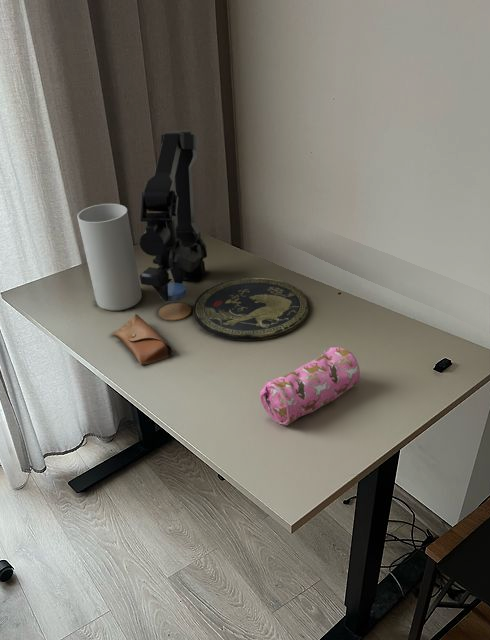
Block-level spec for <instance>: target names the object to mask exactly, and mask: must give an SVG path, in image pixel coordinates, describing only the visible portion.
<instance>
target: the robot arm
mask: <svg viewBox="0 0 490 640" xmlns="http://www.w3.org/2000/svg"><path fill="white" fill-rule="evenodd" d="M160 143H161V146H160V150H159V153H158V154H159V155H158V159H157V163H156V167H155V171H154V175H153V176H152V177H151V178H150V179H148V180H147V181H146V184H145V187H144V189H143V191H142V193H141V199H140V201H141V204H140V222H143V223H144V222H146V224H147V225H146V226H145V230H144V232H143V233H142V234H141V237H140V238H139V247H140V249H141V250H142V251H143V253H145V254H146V255H147V256H148V255H149V256H151V257H154V258H153V259H152V264H154V265H157V266H158V267H151V266H148V267H147V268H146V269H145V270H144V271H143V272H142V273H141V274H140V275H139V282H140V285H145V286H151V287H152V288H153V289H154V290H155V292H156V293H157V295H158V296H159V295H160V296H159V298H160V297H161V298H160V299H162V301H163V302H166V303H167V302H169V301H168V283H171V281H172V280H173V281H174V282H173V283H181V284H183V282H184V281H187V282H193V283H199V281H201V279H202V278H204V277H205V275H206V274H207V272H208V271H207V270H206V265H205V264H206V263H205V260H204V259H206V258H207V257H208V252H207V245H206V243H205V241H204V239H203V238H202V236H201V231H200V229H199V227H198V226H197V225H196V223H195V214H194V212H195V211H194V192H193V191H194V190H193V189H194V188H193V169H192V168H193V167H192V166H193V165H194V162H195V161H196V159H197V156H198V150H199V147H200V146H199V145H200V140H199V136H198V135H197V134H195V132H194V130H170V131H169V132H164V133H162V134H161V136H160ZM175 217H176V218H175ZM175 219H176V220H177V221H175ZM176 222H177V225H176ZM169 272H170V274H171V276H172V278H170V275H169Z"/></svg>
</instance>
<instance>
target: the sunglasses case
mask: <svg viewBox="0 0 490 640" xmlns="http://www.w3.org/2000/svg"><path fill="white" fill-rule="evenodd" d="M112 335H113V336H114V337H115V338H117V339H118V340H119V341H120V342H121V343H122V344H123V345H124V346H125V347H126V348H127V350H128V351H129V352H130V353H131V354H132V355H133V357H134V358H135V359H136V361H137V362H138V364H139V365H140V366H141V365H142V366H146V365H150V364H154V363H157V362H160V361H162V360H163V361H164V360H165V359H168V358H169V357H170V356H171V355H172V353H173V349H172V347H171V346H170V345H169V344H168V342H167V341H166V340H165V339H164V337H162V336H161V335H160V334H159V333H158V332H157V331H156V330H155V329H154V328H153V327H152V326H151V325H150V324H149V323H148V322H147V321H145V319H143V318H142V317H141V316H139V315H138V314H137V313H135V314H134V316H133V317H132V318H131V319H129V320H128V321H127V322H126V323H125V324H124V325H122V326H121V327H120V328H119V329H118V330H117V331H116V332H114V333H112Z"/></svg>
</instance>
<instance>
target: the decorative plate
mask: <svg viewBox="0 0 490 640" xmlns="http://www.w3.org/2000/svg"><path fill="white" fill-rule="evenodd" d="M308 314H309V303H308V299H307V297H306V296H305V294H304V293H303V292H302V291H301V290H300V289H298V287H296V286H293V285H291V284H290V283H287V282H284V281H282V280H278V279H272V278H264V277H246V278H237V279H232V280H228V281H224V282H220V283H217V284H215V285H213V286H211V287H209V288H208V289H206V290H204V291H203V292H202V293H201V294H200V295H198V297H197V299H195V301H194V303H193V306H192V316H193V319H194V321H195V323H196V324H197V325H198V326H199V327H200V329H202V330H203V331H205V332H206V333H208V334H210V335H212V336H215V337H217V338H220V339H225V340H230V341H237V342H251V341H252V342H253V341H263V340H269V339H273V338H277V337H279V336H283V335H285V334H288V333H289V332H292V331H293V330H295V329H297V328H298V327H300V326H301V325H302V323H303V322H304V321H305V320H306V318H307V317H308Z"/></svg>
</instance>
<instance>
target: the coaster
mask: <svg viewBox="0 0 490 640" xmlns="http://www.w3.org/2000/svg"><path fill="white" fill-rule="evenodd" d="M191 313H192V308H191V306H190V305H188V304H186V303H182V302H171V303H169V304H166V305H164V306H162V307H161V308H159V310H158V316H159V318H160V319H162V320H164V321H167V322H174V321H175V322H176V321H180V320H181V321H182V320H184V319H186V318H187V317H189V316H190V315H191Z"/></svg>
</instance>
